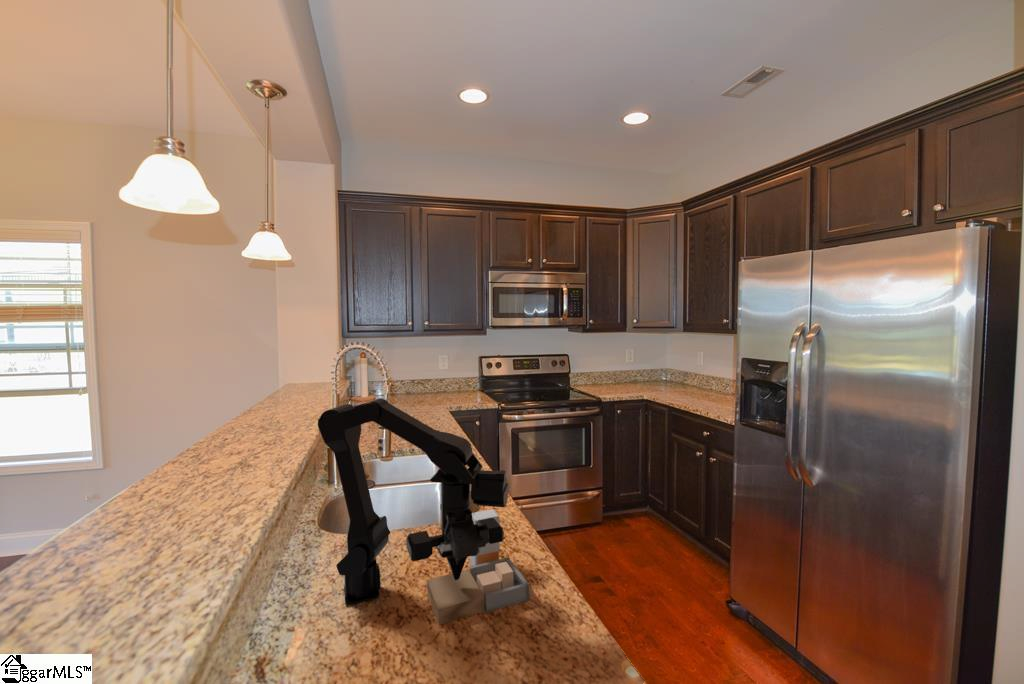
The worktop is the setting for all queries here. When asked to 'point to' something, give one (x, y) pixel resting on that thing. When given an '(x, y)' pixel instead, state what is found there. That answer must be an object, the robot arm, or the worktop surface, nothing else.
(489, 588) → the tile
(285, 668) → the worktop surface
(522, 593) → the tray
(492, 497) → the robot arm
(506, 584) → the tile
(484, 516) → the skincare box
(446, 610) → the board
